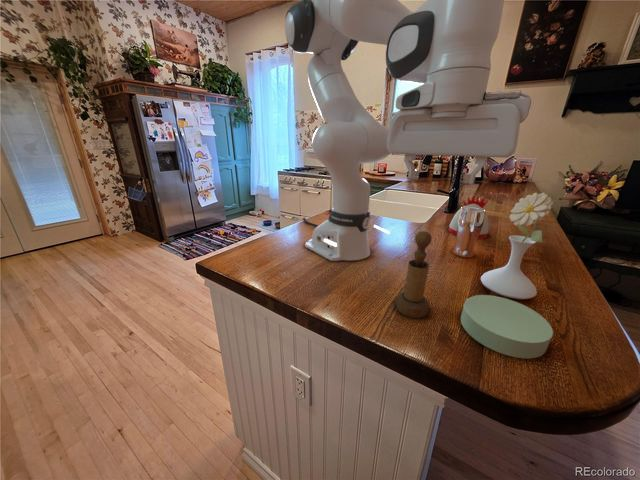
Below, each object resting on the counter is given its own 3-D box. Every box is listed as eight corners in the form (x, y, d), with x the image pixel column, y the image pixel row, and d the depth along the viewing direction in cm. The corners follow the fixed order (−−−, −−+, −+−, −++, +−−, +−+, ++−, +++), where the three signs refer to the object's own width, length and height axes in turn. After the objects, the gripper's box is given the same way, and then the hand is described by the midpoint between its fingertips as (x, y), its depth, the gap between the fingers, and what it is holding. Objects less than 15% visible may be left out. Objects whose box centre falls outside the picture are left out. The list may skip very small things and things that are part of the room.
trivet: (452, 332, 50) (455, 317, 48) (469, 300, 59) (472, 287, 58) (545, 373, 41) (552, 356, 40) (547, 328, 51) (553, 313, 50)
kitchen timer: (487, 241, 94) (498, 201, 89) (446, 234, 101) (454, 196, 96) (487, 230, 106) (496, 194, 100) (450, 224, 112) (457, 190, 107)
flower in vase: (475, 275, 70) (500, 184, 61) (525, 283, 67) (559, 187, 57) (484, 301, 59) (516, 194, 50) (545, 313, 55) (591, 199, 46)
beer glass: (478, 259, 80) (490, 212, 75) (454, 257, 81) (464, 211, 76) (470, 250, 87) (481, 207, 81) (448, 248, 88) (457, 205, 82)
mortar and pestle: (390, 308, 56) (400, 231, 50) (404, 296, 61) (415, 224, 54) (418, 322, 52) (434, 240, 45) (432, 309, 56) (448, 232, 50)
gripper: (534, 91, 38) (509, 185, 43) (400, 102, 49) (393, 175, 54) (535, 84, 33) (506, 191, 38) (387, 98, 45) (380, 178, 50)
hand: (438, 182), depth 46 cm, fingers open, 8 cm apart
